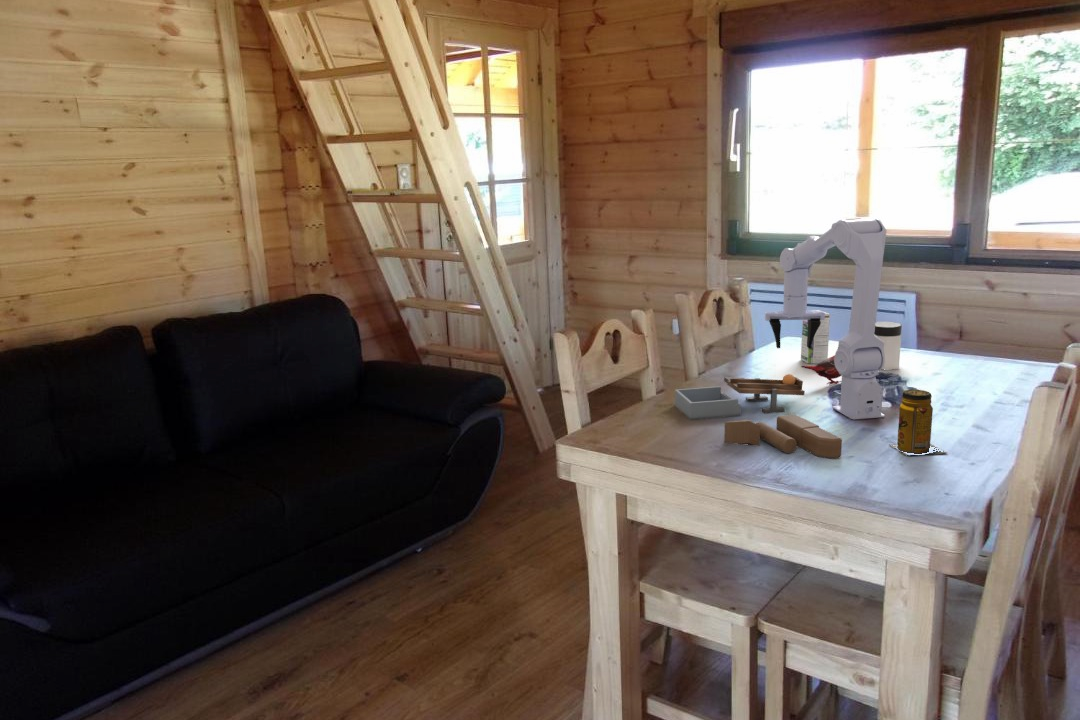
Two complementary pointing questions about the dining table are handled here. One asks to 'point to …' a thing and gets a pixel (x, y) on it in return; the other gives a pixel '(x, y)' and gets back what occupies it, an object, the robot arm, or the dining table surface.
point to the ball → (789, 379)
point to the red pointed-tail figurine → (826, 370)
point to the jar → (890, 342)
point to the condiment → (915, 423)
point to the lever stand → (773, 402)
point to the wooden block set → (785, 435)
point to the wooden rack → (764, 386)
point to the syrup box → (816, 342)
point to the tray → (706, 403)
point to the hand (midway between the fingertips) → (793, 347)
